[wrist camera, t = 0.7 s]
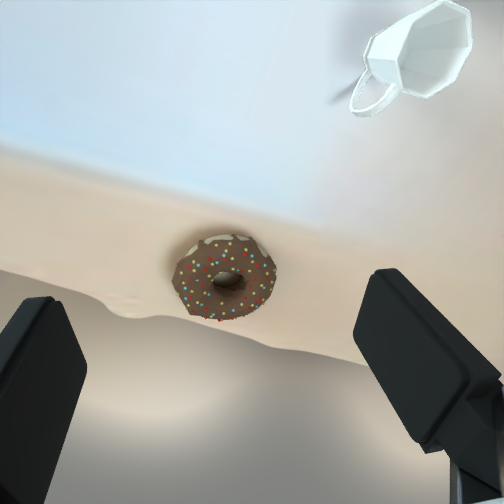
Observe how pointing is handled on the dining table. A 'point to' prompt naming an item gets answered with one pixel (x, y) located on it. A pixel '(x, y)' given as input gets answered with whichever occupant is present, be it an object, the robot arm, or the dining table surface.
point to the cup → (417, 54)
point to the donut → (216, 261)
